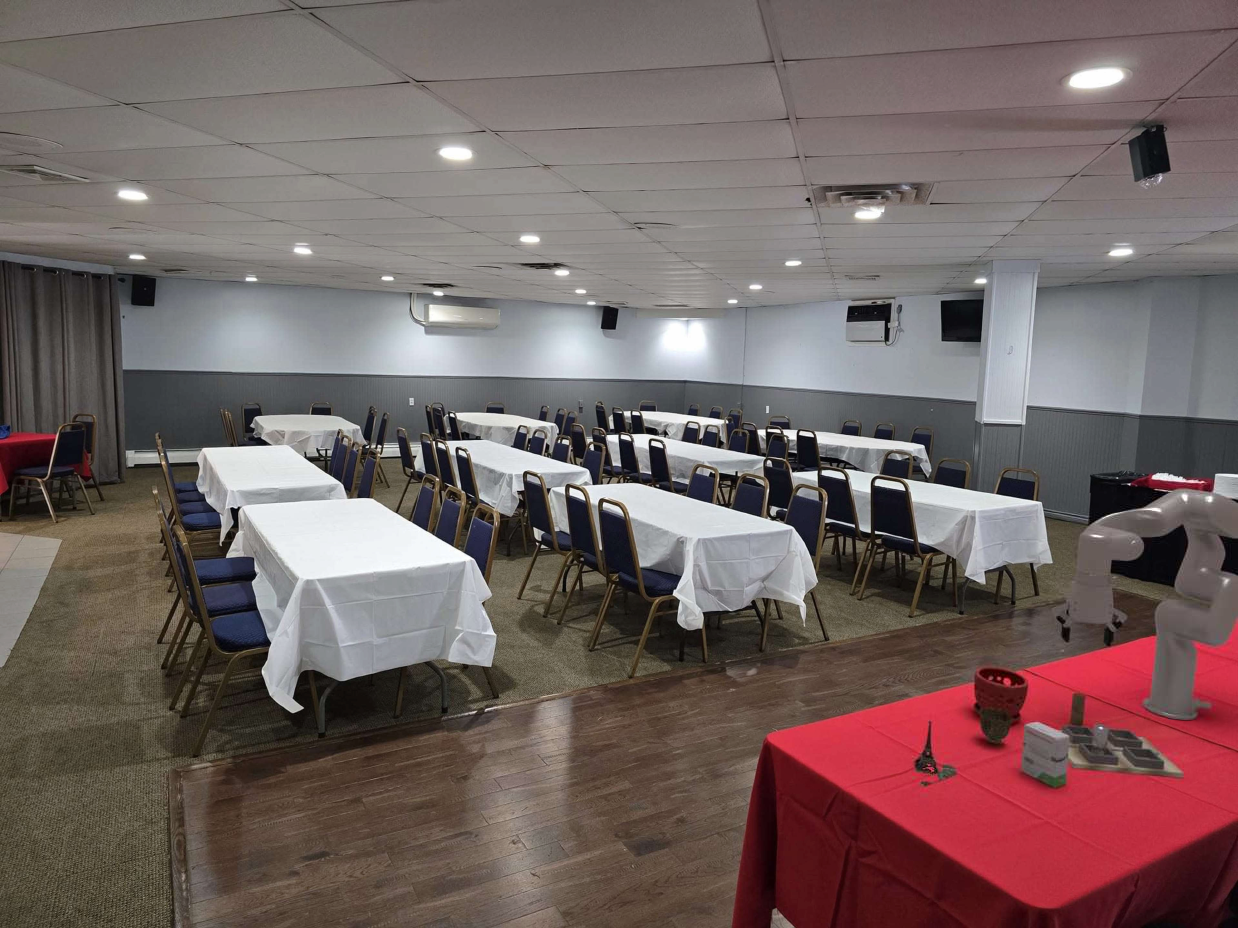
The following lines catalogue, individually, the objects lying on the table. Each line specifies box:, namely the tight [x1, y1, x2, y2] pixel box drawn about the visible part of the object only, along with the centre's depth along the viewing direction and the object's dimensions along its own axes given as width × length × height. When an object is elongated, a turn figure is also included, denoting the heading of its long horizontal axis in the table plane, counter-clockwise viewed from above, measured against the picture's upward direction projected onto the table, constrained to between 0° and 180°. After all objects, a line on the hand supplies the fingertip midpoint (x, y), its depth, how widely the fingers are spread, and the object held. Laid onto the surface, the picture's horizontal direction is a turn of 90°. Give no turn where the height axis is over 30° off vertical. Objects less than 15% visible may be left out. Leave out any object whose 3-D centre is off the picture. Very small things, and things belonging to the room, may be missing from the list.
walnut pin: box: [1069, 692, 1087, 726], centre depth 210 cm, size 3×3×8 cm
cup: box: [979, 707, 1012, 746], centre depth 198 cm, size 8×7×8 cm
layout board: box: [1056, 723, 1184, 779], centre depth 193 cm, size 24×18×9 cm
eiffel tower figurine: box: [913, 716, 958, 787], centre depth 184 cm, size 15×10×13 cm
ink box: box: [1020, 721, 1070, 789], centre depth 181 cm, size 9×5×12 cm, turn 26°
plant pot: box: [973, 666, 1029, 724], centre depth 213 cm, size 13×13×12 cm
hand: (1086, 642), depth 204 cm, fingers open, 9 cm apart
